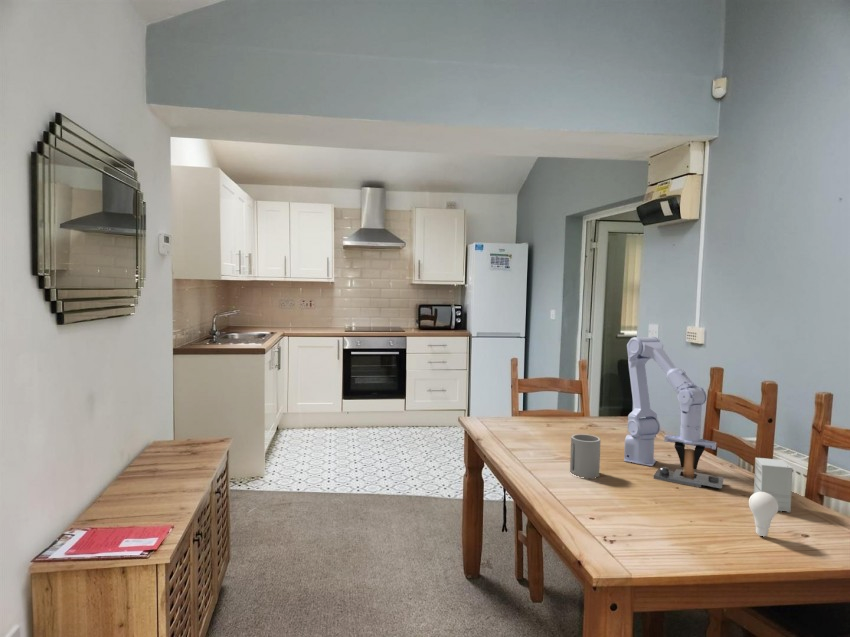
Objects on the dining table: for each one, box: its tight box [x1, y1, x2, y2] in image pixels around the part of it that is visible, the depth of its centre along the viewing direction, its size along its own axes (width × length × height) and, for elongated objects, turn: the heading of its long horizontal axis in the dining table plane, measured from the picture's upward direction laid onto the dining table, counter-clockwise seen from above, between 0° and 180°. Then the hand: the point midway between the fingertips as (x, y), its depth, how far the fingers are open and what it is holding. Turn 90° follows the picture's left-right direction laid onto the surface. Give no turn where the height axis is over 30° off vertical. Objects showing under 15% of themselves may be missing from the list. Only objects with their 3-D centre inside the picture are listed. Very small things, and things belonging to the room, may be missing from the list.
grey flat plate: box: [653, 466, 724, 489], centre depth 166 cm, size 19×8×3 cm, turn 57°
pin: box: [682, 448, 695, 478], centre depth 166 cm, size 3×3×9 cm
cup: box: [569, 433, 601, 479], centre depth 171 cm, size 9×9×12 cm
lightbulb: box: [748, 492, 779, 538], centre depth 128 cm, size 6×6×11 cm
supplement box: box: [753, 457, 793, 513], centre depth 147 cm, size 7×7×13 cm
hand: (688, 467), depth 166 cm, fingers closed on pin, 3 cm apart
